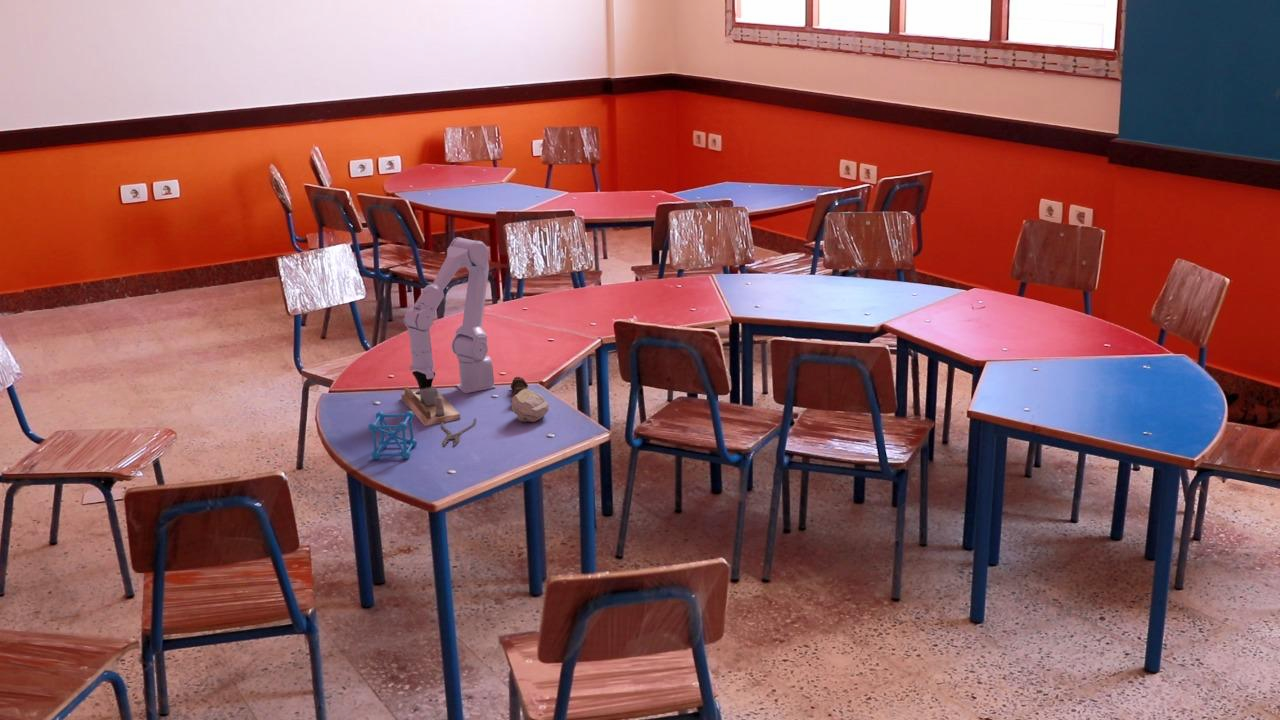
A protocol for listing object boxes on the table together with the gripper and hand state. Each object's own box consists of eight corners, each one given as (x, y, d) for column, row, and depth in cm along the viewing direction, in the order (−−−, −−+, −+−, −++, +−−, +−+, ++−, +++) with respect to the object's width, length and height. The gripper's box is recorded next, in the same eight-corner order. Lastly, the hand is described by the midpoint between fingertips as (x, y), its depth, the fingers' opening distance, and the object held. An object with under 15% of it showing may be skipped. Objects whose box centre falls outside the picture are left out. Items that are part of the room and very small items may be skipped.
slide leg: (434, 399, 347) (433, 385, 346) (439, 403, 344) (437, 389, 342) (420, 402, 346) (419, 388, 344) (424, 406, 342) (423, 392, 341)
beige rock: (550, 410, 341) (514, 415, 341) (545, 381, 339) (509, 387, 339) (551, 423, 330) (514, 428, 329) (546, 393, 327) (509, 399, 327)
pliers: (475, 415, 338) (480, 442, 320) (476, 417, 338) (480, 445, 320) (440, 418, 337) (442, 446, 318) (440, 421, 337) (443, 449, 318)
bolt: (521, 393, 360) (525, 409, 346) (505, 386, 358) (509, 403, 344) (530, 376, 359) (534, 391, 345) (514, 369, 357) (518, 384, 343)
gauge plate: (435, 392, 358) (433, 371, 356) (460, 418, 337) (458, 396, 335) (401, 398, 354) (399, 377, 352) (425, 425, 333) (422, 403, 331)
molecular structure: (371, 461, 312) (366, 424, 309) (380, 445, 321) (376, 410, 318) (409, 460, 311) (405, 424, 308) (418, 445, 321) (414, 409, 318)
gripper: (400, 345, 347) (405, 390, 352) (414, 359, 335) (419, 406, 339) (424, 341, 350) (429, 385, 355) (439, 355, 338) (443, 401, 342)
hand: (426, 395), depth 347 cm, fingers closed
